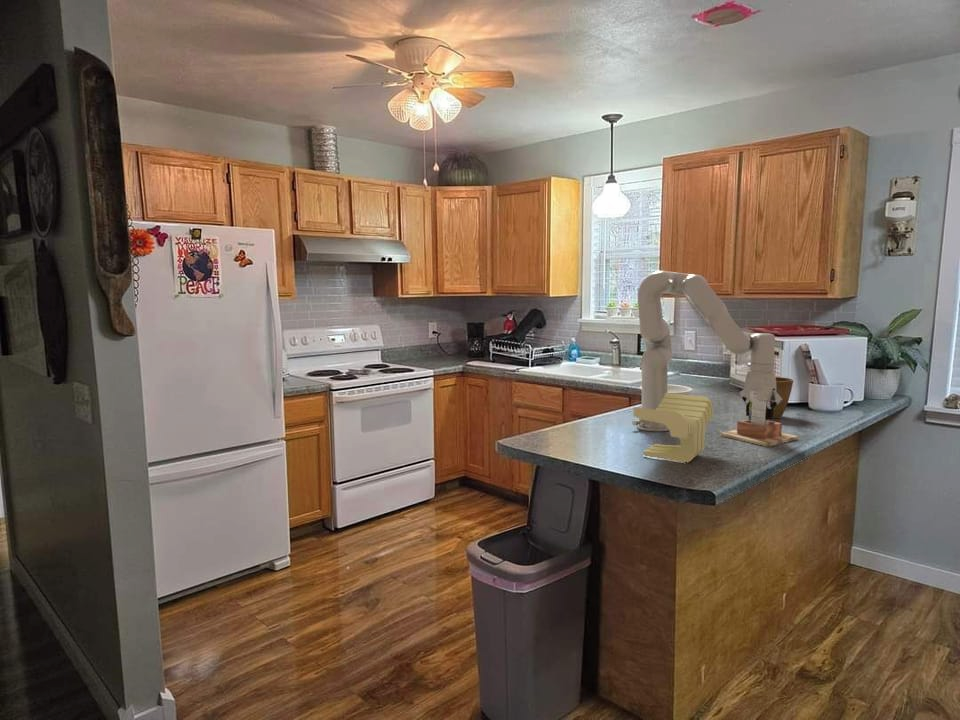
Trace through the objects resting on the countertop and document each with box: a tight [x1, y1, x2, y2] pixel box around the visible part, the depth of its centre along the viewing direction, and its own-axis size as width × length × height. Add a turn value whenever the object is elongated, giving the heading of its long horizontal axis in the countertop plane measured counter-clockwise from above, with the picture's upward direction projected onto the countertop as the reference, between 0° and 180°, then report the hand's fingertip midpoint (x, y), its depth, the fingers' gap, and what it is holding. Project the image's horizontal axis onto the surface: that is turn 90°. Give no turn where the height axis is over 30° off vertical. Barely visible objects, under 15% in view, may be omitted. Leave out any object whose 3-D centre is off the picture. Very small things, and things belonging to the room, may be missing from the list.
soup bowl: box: [638, 383, 693, 395], centre depth 286 cm, size 24×24×7 cm
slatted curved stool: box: [633, 393, 714, 464], centre depth 194 cm, size 30×16×18 cm, turn 145°
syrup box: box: [748, 391, 770, 426], centre depth 216 cm, size 6×6×14 cm
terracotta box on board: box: [720, 419, 799, 448], centre depth 217 cm, size 18×18×6 cm
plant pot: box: [773, 376, 794, 419], centre depth 251 cm, size 15×15×16 cm
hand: (759, 417), depth 216 cm, fingers closed on syrup box, 7 cm apart
